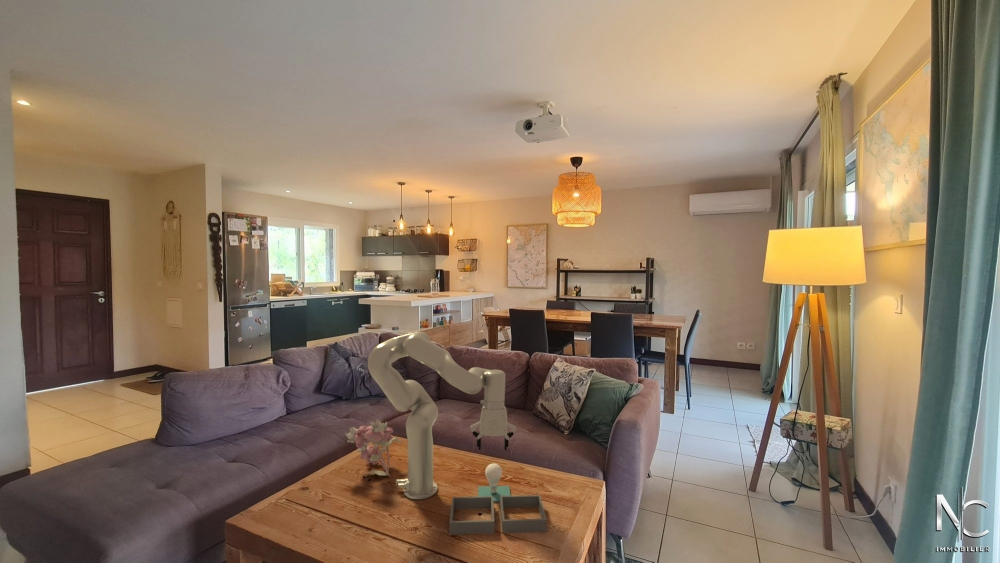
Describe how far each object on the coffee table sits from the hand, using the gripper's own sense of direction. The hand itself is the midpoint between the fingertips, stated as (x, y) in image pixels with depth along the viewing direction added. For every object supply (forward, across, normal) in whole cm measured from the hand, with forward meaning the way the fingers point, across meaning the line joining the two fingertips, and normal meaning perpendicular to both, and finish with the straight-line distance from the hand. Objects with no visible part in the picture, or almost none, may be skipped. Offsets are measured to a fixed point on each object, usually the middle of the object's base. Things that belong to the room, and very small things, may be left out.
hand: (492, 448), depth 154 cm
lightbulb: (+17, +1, 0) cm, 17 cm away
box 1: (+18, -7, -15) cm, 24 cm away
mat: (+18, +1, 0) cm, 18 cm away
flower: (+20, -49, +22) cm, 57 cm away
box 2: (+17, +10, -15) cm, 25 cm away
